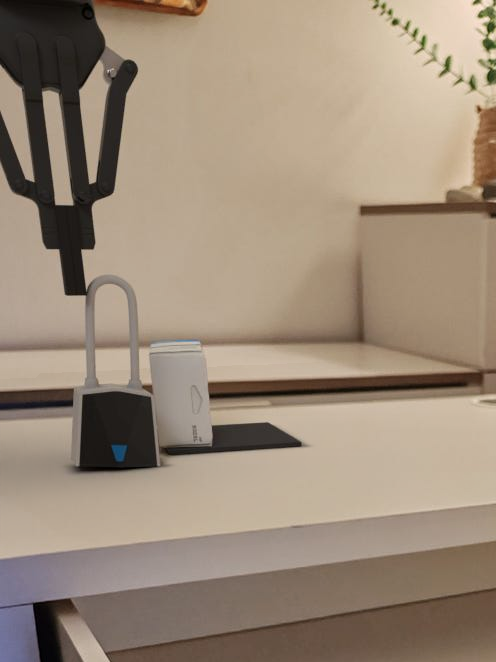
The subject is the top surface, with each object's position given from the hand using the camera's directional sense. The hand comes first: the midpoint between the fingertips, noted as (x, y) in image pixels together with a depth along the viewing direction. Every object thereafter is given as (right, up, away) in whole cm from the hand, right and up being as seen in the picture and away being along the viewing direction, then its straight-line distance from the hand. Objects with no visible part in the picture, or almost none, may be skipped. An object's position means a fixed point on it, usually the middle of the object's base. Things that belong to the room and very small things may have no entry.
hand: (75, 294), depth 81 cm
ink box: (+2, -2, +21) cm, 21 cm away
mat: (+7, -8, +18) cm, 21 cm away
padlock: (+1, -13, +6) cm, 14 cm away
